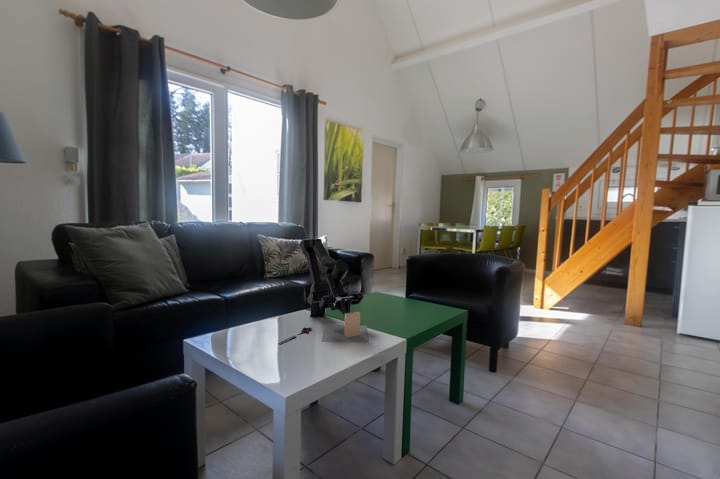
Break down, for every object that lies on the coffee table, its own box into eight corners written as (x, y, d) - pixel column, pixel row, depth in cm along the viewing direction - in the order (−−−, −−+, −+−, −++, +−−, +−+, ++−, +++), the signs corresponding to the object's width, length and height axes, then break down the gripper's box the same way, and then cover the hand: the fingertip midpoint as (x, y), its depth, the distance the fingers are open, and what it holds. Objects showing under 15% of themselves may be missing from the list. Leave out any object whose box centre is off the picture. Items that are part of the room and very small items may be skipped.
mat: (321, 343, 132) (321, 341, 132) (325, 326, 152) (325, 324, 152) (369, 343, 132) (369, 342, 132) (366, 327, 152) (366, 325, 152)
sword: (274, 351, 124) (274, 345, 124) (267, 349, 126) (267, 343, 126) (316, 331, 146) (316, 326, 146) (309, 329, 148) (309, 325, 147)
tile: (344, 335, 139) (344, 313, 138) (356, 333, 142) (357, 311, 141) (346, 337, 137) (347, 314, 137) (359, 335, 140) (360, 312, 140)
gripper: (348, 294, 160) (360, 324, 152) (310, 298, 151) (321, 331, 142) (357, 280, 153) (370, 311, 145) (318, 283, 144) (330, 317, 135)
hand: (348, 318), depth 142 cm, fingers closed
